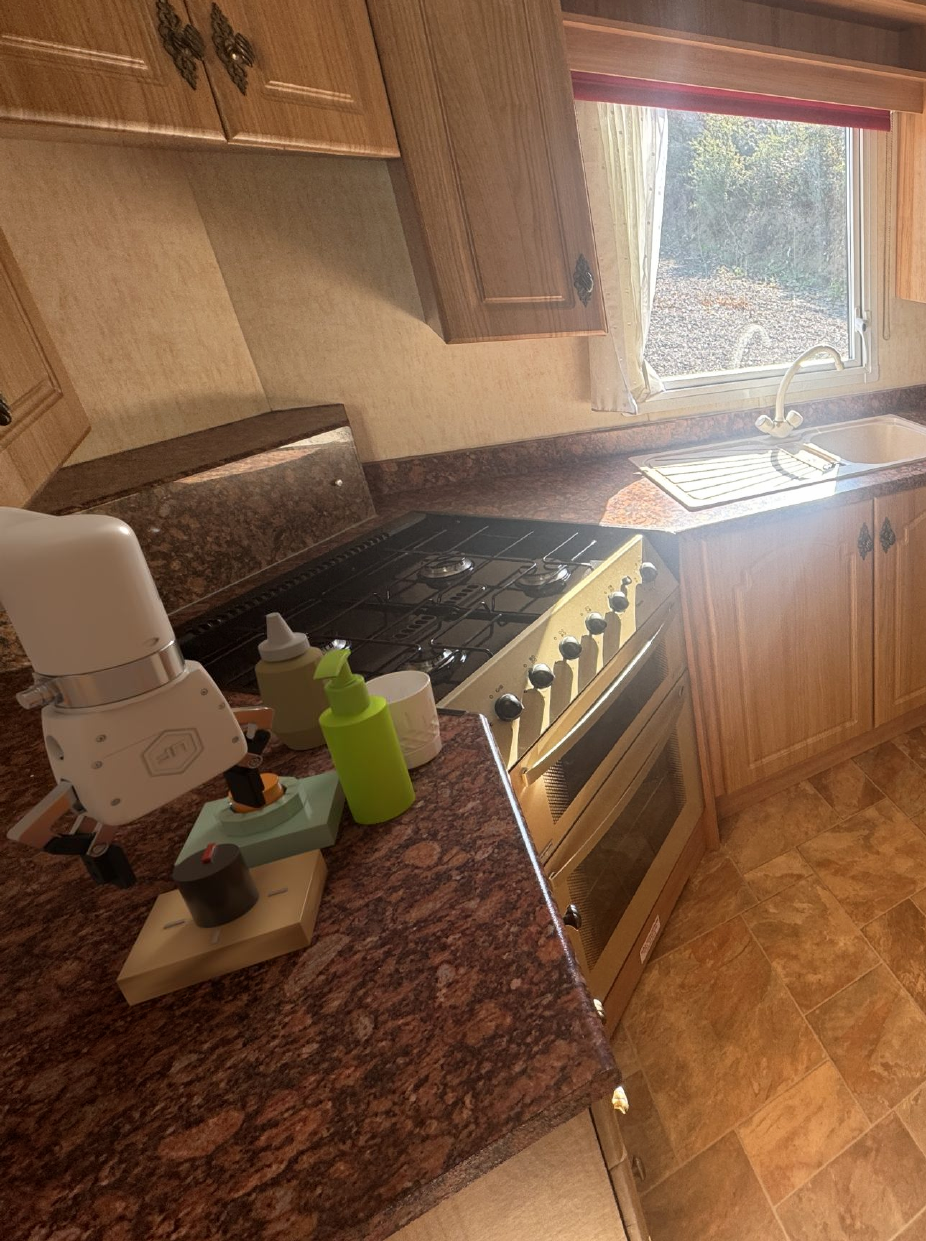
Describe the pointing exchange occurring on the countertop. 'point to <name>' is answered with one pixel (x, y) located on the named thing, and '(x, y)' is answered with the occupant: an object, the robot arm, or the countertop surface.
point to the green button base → (274, 822)
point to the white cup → (411, 713)
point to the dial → (216, 885)
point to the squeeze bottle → (291, 685)
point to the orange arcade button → (270, 793)
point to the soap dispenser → (363, 744)
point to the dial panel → (225, 931)
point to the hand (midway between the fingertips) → (190, 840)
